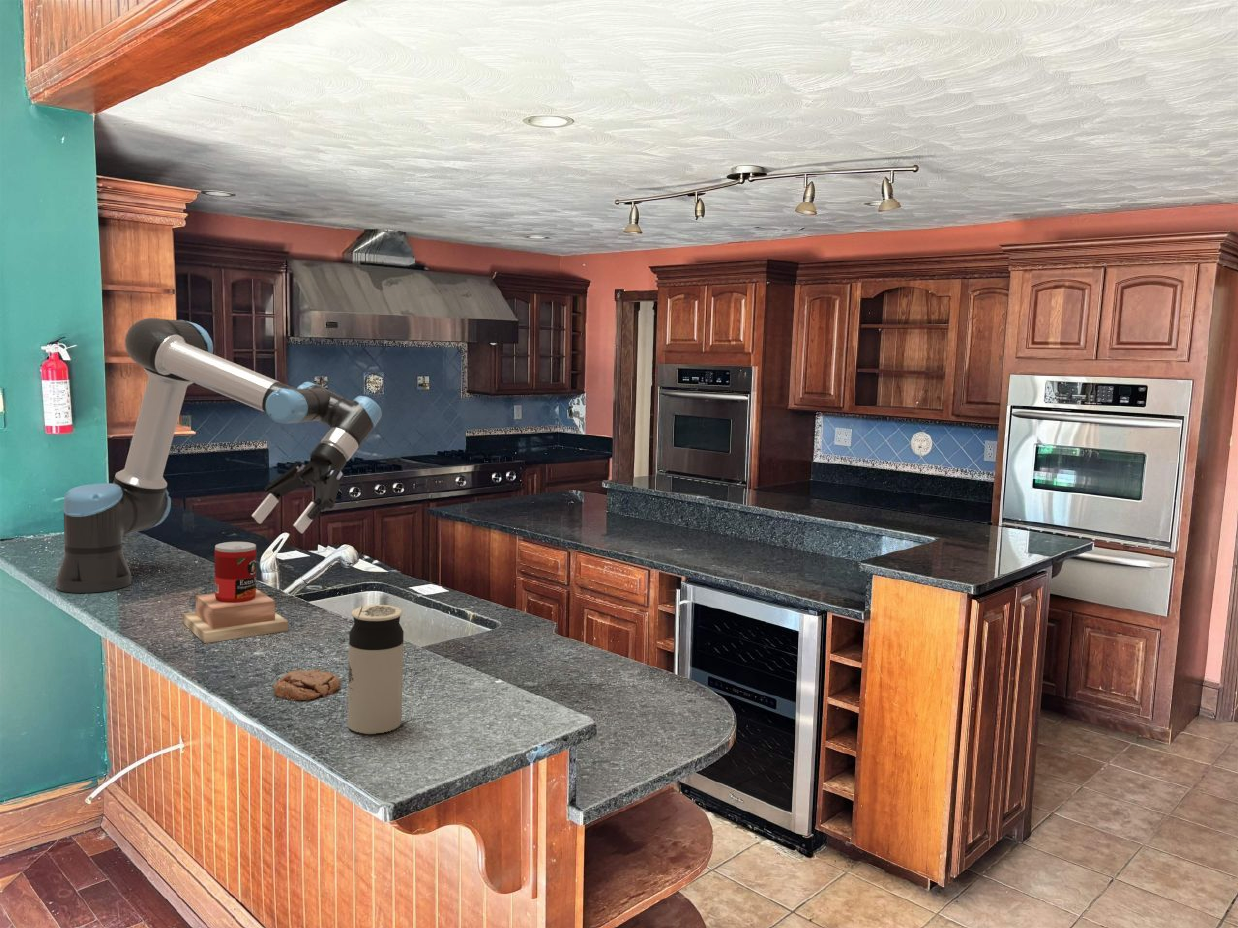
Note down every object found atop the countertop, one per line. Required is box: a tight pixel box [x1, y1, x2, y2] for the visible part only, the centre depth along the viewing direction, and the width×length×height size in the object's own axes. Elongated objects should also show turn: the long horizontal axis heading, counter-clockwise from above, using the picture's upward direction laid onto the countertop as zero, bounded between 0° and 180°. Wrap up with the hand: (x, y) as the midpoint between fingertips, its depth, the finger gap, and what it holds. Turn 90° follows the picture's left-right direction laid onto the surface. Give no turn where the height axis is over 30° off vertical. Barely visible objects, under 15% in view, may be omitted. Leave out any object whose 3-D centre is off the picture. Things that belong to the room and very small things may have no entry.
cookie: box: [273, 669, 341, 701], centre depth 150 cm, size 10×11×3 cm
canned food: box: [214, 541, 257, 603], centre depth 182 cm, size 8×8×11 cm
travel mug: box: [347, 604, 405, 735], centre depth 136 cm, size 8×8×18 cm
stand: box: [182, 588, 289, 644], centre depth 183 cm, size 16×16×6 cm
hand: (276, 524), depth 193 cm, fingers open, 13 cm apart
